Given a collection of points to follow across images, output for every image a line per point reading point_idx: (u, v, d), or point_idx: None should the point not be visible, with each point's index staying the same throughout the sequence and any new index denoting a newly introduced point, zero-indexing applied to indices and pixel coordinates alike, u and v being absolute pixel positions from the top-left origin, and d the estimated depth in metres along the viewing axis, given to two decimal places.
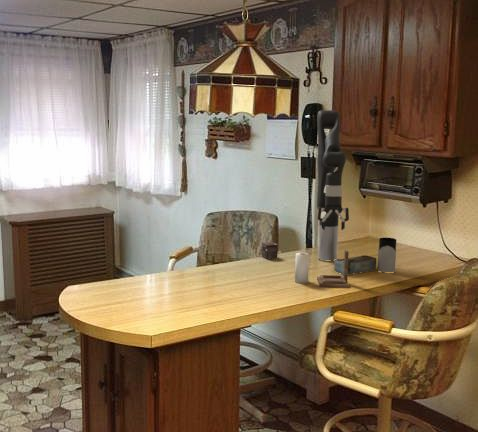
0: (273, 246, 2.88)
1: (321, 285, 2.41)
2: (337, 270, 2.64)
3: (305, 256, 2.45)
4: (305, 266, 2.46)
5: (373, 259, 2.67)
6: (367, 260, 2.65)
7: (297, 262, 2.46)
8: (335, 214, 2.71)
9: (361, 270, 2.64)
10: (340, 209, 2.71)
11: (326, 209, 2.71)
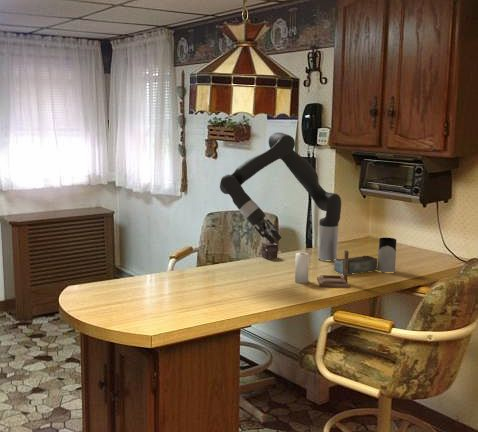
0: (273, 246, 2.88)
1: (321, 285, 2.41)
2: (336, 270, 2.64)
3: (305, 256, 2.45)
4: (305, 266, 2.46)
5: (374, 259, 2.66)
6: (367, 260, 2.65)
7: (297, 262, 2.46)
8: None
9: (361, 270, 2.64)
10: None
11: None
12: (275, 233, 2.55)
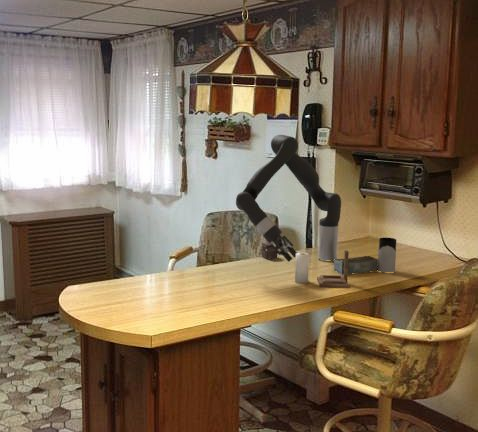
0: None
1: (321, 285, 2.41)
2: (336, 270, 2.65)
3: (305, 256, 2.45)
4: (305, 266, 2.46)
5: (374, 260, 2.65)
6: (367, 261, 2.64)
7: (297, 262, 2.46)
8: None
9: (360, 270, 2.63)
10: None
11: None
12: (292, 250, 2.53)
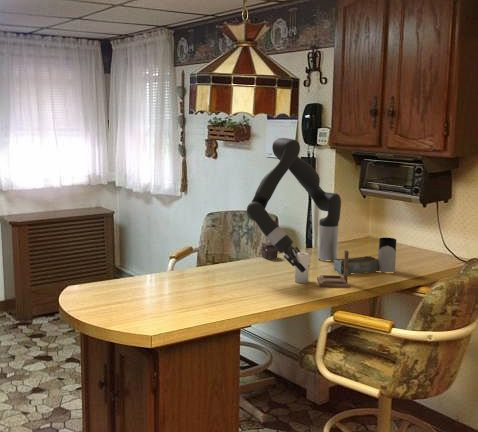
0: (273, 246, 2.88)
1: (321, 285, 2.41)
2: (336, 269, 2.65)
3: (305, 256, 2.45)
4: (305, 266, 2.46)
5: (374, 260, 2.65)
6: (367, 261, 2.64)
7: None
8: None
9: (360, 271, 2.63)
10: None
11: None
12: None
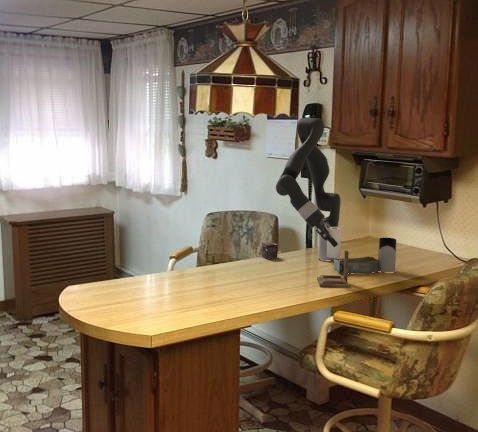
0: (273, 246, 2.88)
1: (321, 285, 2.41)
2: (335, 269, 2.66)
3: (337, 230, 2.41)
4: (337, 241, 2.42)
5: (374, 261, 2.63)
6: (367, 261, 2.63)
7: None
8: None
9: (360, 271, 2.63)
10: None
11: None
12: None
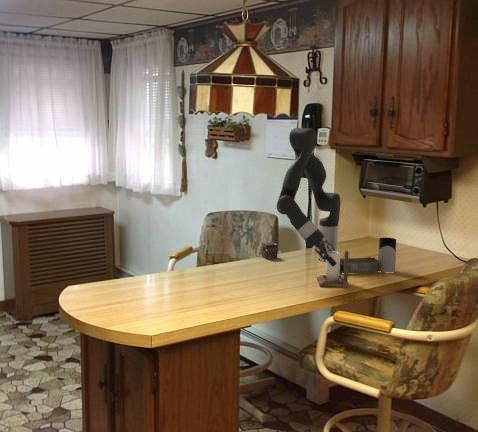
0: (273, 246, 2.88)
1: (321, 285, 2.41)
2: None
3: (337, 255, 2.43)
4: (337, 265, 2.43)
5: (374, 262, 2.62)
6: (367, 262, 2.62)
7: None
8: None
9: (359, 271, 2.62)
10: None
11: None
12: None
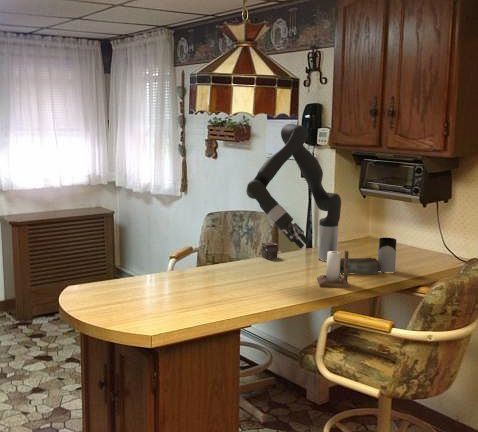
0: (273, 246, 2.88)
1: (321, 285, 2.41)
2: None
3: (337, 255, 2.43)
4: (337, 265, 2.43)
5: (374, 262, 2.61)
6: (366, 262, 2.61)
7: (329, 260, 2.44)
8: None
9: (358, 271, 2.62)
10: None
11: None
12: (303, 237, 2.55)
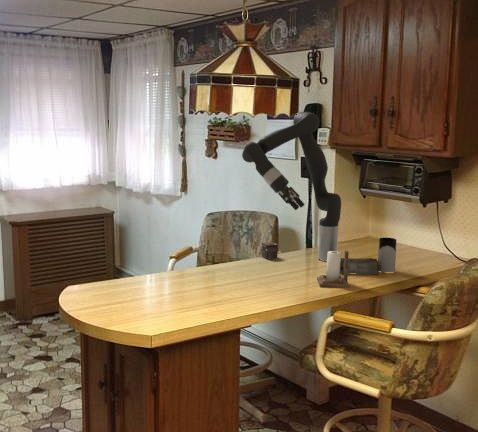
0: (273, 246, 2.88)
1: (321, 285, 2.41)
2: None
3: (337, 255, 2.43)
4: (337, 265, 2.43)
5: (374, 262, 2.60)
6: (365, 262, 2.61)
7: (329, 260, 2.44)
8: None
9: (357, 271, 2.62)
10: None
11: None
12: (298, 200, 2.57)
